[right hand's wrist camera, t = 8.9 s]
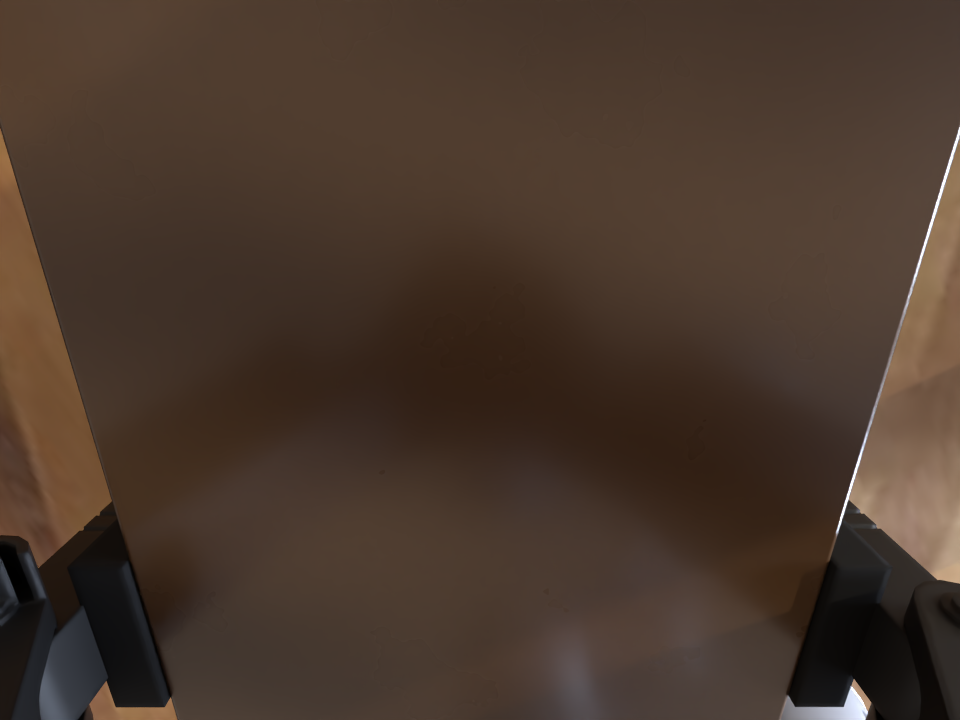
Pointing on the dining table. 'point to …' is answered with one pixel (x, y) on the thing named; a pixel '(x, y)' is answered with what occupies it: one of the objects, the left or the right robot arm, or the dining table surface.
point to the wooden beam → (480, 330)
